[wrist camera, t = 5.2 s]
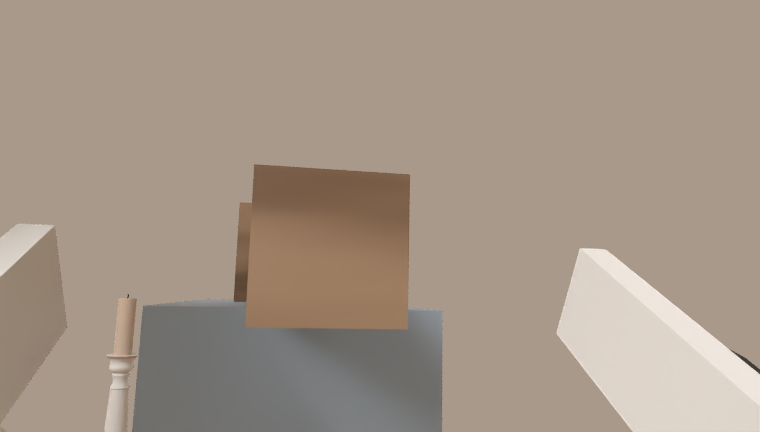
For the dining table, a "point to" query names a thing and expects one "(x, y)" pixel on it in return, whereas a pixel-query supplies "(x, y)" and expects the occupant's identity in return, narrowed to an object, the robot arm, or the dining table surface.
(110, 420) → the candlestick
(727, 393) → the robot arm
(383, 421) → the gray stand
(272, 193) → the walnut mallet
